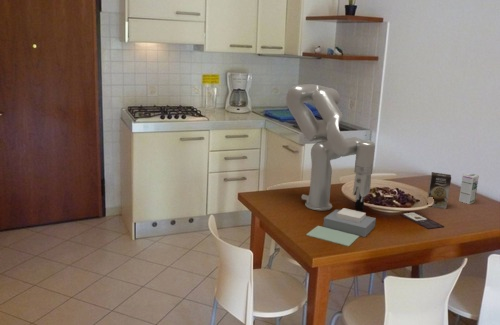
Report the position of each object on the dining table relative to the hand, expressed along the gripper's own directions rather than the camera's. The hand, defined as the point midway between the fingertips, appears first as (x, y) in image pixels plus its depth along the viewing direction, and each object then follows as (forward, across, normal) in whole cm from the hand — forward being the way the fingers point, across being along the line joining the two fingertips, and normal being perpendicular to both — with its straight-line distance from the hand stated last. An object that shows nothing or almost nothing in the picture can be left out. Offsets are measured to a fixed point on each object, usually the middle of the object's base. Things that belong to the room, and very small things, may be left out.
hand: (359, 209), depth 214 cm
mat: (+5, -25, +2) cm, 26 cm away
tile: (+1, -10, 0) cm, 10 cm away
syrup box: (+5, +61, -37) cm, 71 cm away
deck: (+5, -11, 0) cm, 12 cm away
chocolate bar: (+6, +17, -24) cm, 30 cm away
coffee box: (+5, +44, -26) cm, 51 cm away
